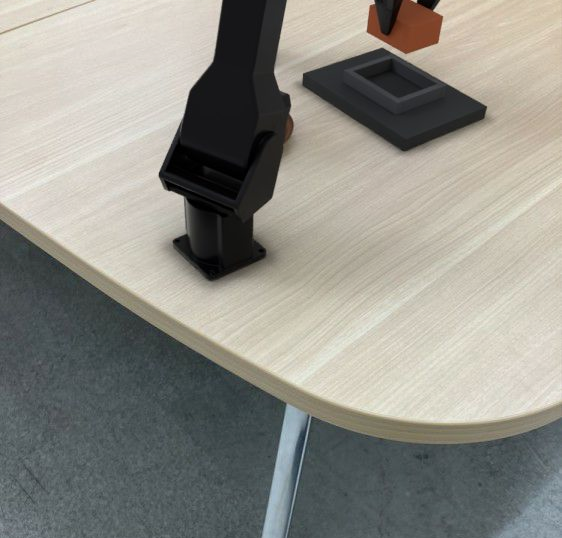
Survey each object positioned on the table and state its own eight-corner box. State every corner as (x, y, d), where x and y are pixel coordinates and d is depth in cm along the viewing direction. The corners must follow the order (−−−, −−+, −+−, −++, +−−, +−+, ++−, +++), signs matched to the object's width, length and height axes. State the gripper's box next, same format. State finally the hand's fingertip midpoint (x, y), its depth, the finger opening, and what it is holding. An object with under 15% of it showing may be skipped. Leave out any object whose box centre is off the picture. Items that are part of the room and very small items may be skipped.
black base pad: (484, 118, 92) (490, 94, 90) (403, 151, 86) (408, 126, 84) (380, 58, 101) (384, 35, 99) (302, 85, 96) (303, 61, 93)
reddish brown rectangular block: (438, 43, 87) (443, 16, 85) (405, 54, 85) (410, 26, 83) (398, 22, 91) (402, -5, 88) (366, 32, 88) (369, 5, 86)
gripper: (436, -166, 84) (412, -14, 96) (300, -142, 76) (292, 21, 87) (516, -139, 78) (480, 19, 90) (377, -111, 70) (358, 60, 82)
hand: (402, 28), depth 87 cm, fingers closed on reddish brown rectangular block, 5 cm apart
